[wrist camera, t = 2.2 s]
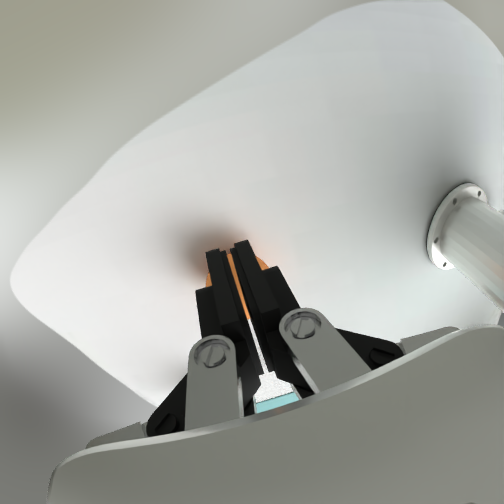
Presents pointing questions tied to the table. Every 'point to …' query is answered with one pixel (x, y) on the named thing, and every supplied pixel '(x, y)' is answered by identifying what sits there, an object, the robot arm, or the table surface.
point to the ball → (263, 267)
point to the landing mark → (276, 402)
